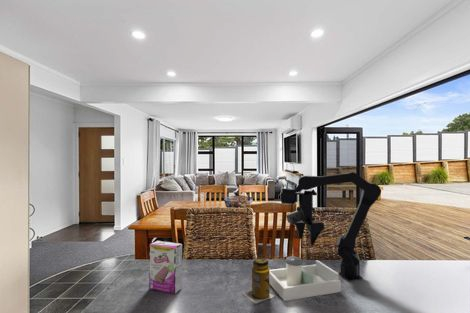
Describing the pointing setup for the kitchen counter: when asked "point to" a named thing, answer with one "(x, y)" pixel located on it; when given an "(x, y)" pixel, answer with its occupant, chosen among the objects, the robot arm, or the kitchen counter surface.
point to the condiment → (259, 281)
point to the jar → (293, 271)
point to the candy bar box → (165, 267)
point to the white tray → (322, 284)
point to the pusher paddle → (306, 277)
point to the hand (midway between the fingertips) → (306, 241)
